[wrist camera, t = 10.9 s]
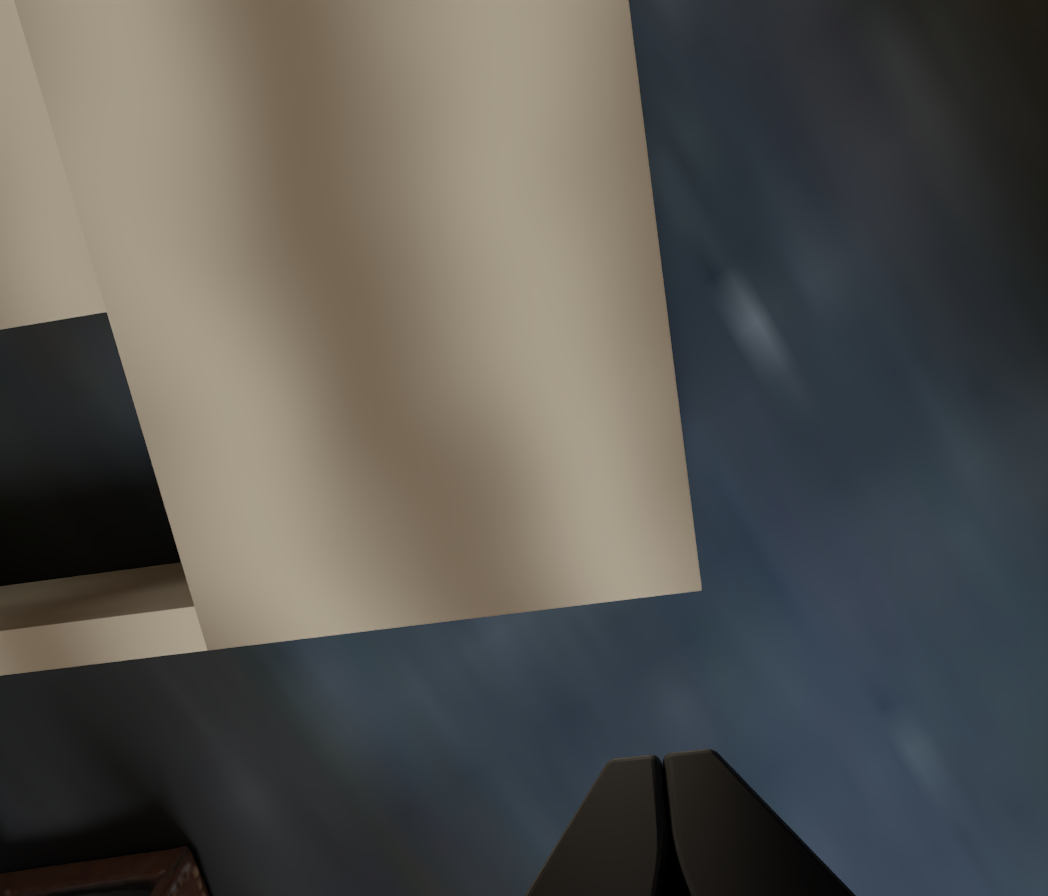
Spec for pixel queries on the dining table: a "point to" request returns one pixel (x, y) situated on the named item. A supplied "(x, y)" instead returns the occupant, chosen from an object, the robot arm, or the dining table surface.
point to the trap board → (350, 310)
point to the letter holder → (112, 877)
